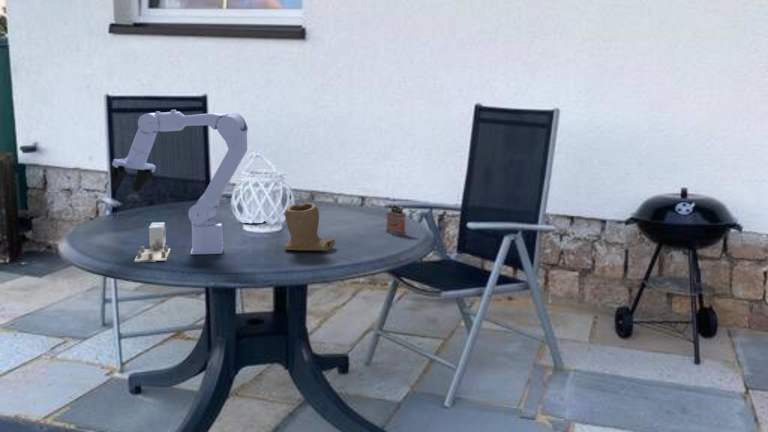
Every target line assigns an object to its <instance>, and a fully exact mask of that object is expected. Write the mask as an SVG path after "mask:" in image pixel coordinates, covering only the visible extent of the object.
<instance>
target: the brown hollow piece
mask: <svg viewBox="0 0 768 432" xmlns="http://www.w3.org/2000/svg"><path fill="white" fill-rule="evenodd" d="M284 217H285V223H286V227H287V230H288V231H289V233H290V237H291V238H290V241H288V242H286V243H285V244H284V248H285V249H286V250H289V251H301V252H304V251H306V252H329V251H330V250H331V249H332V248H333V247H334V245H335V244H336V239H334V238H333V239H332V238H331V239H330V238H322V237H321V238H320V237H319V235H318V231H319V221H320V212H319V208H318V207H317V205H315V204H314V203H311V202H305V203H302V204H298V203H296V204H295V203H294V204H291V205H290V206H288V207H287V208H286V209H285V211H284Z"/></svg>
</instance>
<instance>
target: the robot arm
mask: <svg viewBox="0 0 768 432" xmlns="http://www.w3.org/2000/svg"><path fill="white" fill-rule="evenodd" d="M137 120H138V121H137V126H138V128H137V131H136V134H135V136H134V138H133V141H132V144H131V146H130V149H129V152H128V154H127V156H126V157H125V158H118V159H117V158H114V159H113V160H112V163H111V169H112V179H113V180H112V186H111V187H112V188H113V189H114V190H115V191H118V190H119V189H120V186H121V185H122V181H123V180H124V179H125V177H126V175H127V174H128V171H127V170H126V169H132V170H133V169H134V170H137V173H136V177H135V181H134V184H133V187H132V190H134V191H135V192H136V193H138V192H139V191H140V190H141V189H142V187H143V186H144V185H145V183H146V182H148V180H150V179H151V178H153V176H154V173H155V171H156V168H157V167H156V165H154V163H148V162H147V161H148V159H149V156H150V153H151V151H152V148H153V146H154V143H155V141H156V137H157V135H158V132H162V133H163V132H176V131H177V132H179V131H182V130H184V128H185V127H190V126H191V127H192V126H193V127H195V126H196V127H197V126H200V127H201V126H209V127H210V128H212V130H213V131H215V130H217V132H218V134H219V135H220V136H221V137H222V139H223V140H224V141H225V144H226V146H227V149H228V150H227V151H226V153H225V155H224V157H223V159H222V161H220V164H219V166H218V168H217V169H216V171H215V173H214V175H213V177H212V179H211V180H210V182H209V184H208V186H207V188H206V189H205V191H204V193H202V195H201V196H200V197H199V199H198V200H197V201H196V203H195V204H194V205H192V206H191V207H190V208H189V210H188V212H187V213H188V219H189V220H190V222H191V242H192V243H191V244H192V245H191V251H190V254H189V255H218V254H219V255H220V254H223V250H224V249H223V248H224V246H225V245H224V244H225V242H224V241H223V240H224V238H223V223H221V222H219V223H217V222H216V219H215V217H216V216H217V214H218V211H219V210H218V209H219V204H220V203H221V198H222V195H224V192H225V190H226V189H227V187H228V185H229V183H230V181H231V180H232V179H233V176H234V174H235V173H236V172H237V169H238V167H239V166H240V164H241V162H242V160H243V159H244V157H245V155H246V153H247V151H248V129H249V127H248V125H247V122H246V120H245V118H244V117H243V116H242V115H240V114H238V113H231V114H230V113H224V112H223V113H221V112H220V113H219V112H213V113H212V112H210V113H200V114H192V115H191V114H190V115H189V114H188V115H185V114H183V113H182V112H181V111H177V109H171V110H170V111H167V112H161V111H159V110H158V111H155V112H150V113H144V114H142V115H141V116H139V117H138V119H137Z"/></svg>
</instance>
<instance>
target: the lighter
mask: <svg viewBox="0 0 768 432" xmlns="http://www.w3.org/2000/svg"><path fill="white" fill-rule="evenodd" d="M388 209H389V210H386V230H385V232H386V233H387V234H391V235H394V236H395V235H396V236H406V215H407V213H406V212H403V211H404V207H403V206H400V204H393V203H390V204H388ZM390 209H391V210H390Z"/></svg>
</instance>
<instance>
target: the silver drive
mask: <svg viewBox="0 0 768 432" xmlns="http://www.w3.org/2000/svg"><path fill="white" fill-rule="evenodd" d="M148 233H149V236H148V237H149V238H148V239H149V249H153V245H154V244H157V249H164V246H166V244H165V243H167V241H166V239H167V238H166V223H165V222H164V221H163V222H151V224H150V225H149V227H148Z"/></svg>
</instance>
